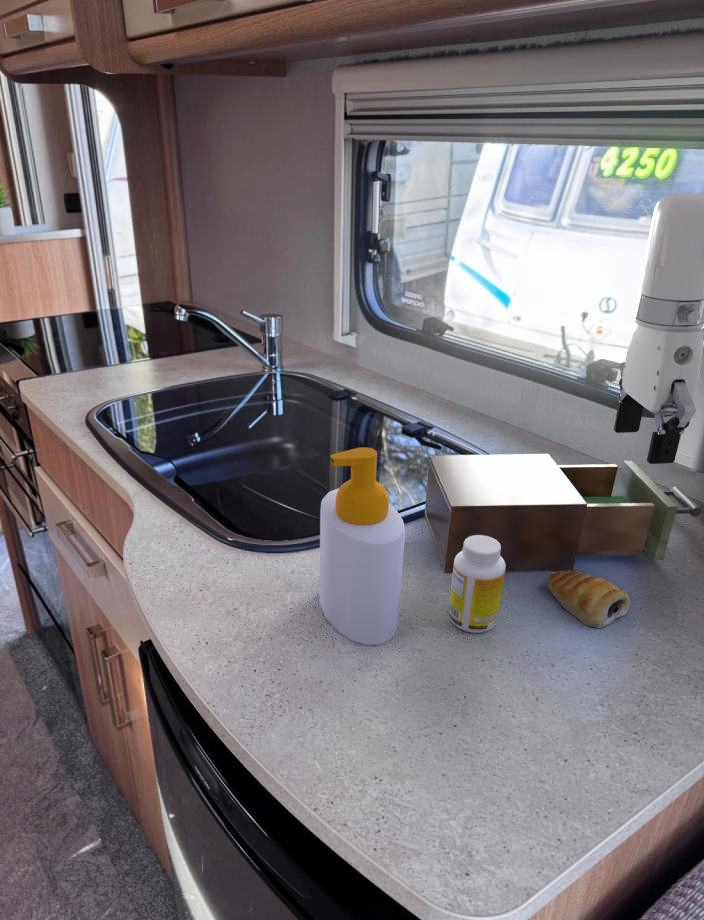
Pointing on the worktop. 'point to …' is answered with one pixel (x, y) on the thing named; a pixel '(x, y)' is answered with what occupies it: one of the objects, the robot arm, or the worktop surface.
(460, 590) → the supplement bottle
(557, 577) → the pastry
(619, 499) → the sponge
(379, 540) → the soap bottle
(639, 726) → the worktop surface
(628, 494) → the drawer
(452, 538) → the cabinet
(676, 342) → the robot arm
